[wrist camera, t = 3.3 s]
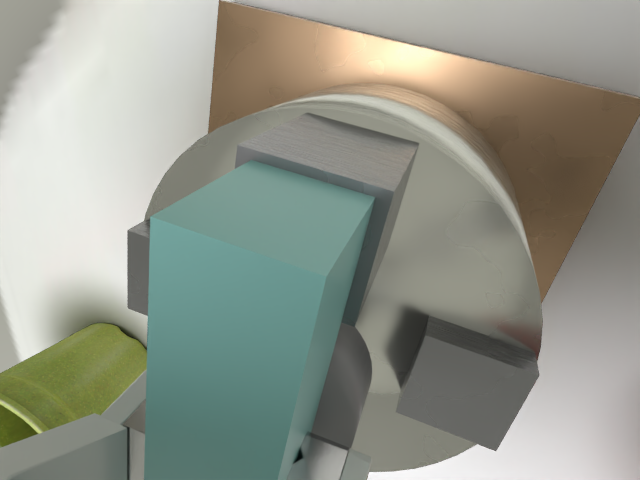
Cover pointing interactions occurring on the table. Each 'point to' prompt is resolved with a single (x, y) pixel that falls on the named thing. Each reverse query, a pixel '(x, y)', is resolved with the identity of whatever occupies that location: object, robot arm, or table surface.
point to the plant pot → (68, 381)
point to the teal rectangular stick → (252, 325)
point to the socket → (415, 206)
